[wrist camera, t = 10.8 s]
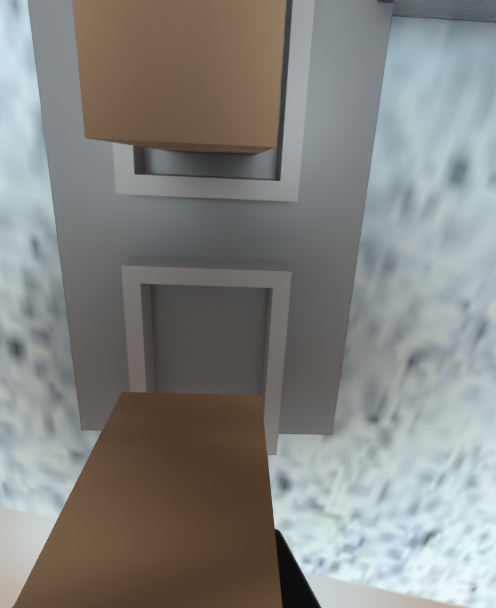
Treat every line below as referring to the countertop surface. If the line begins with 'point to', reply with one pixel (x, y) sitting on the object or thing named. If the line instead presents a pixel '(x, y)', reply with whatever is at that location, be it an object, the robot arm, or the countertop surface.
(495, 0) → the button box
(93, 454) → the billet
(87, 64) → the billet
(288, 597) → the robot arm
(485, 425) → the countertop surface
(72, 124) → the grey socket board
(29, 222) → the countertop surface
